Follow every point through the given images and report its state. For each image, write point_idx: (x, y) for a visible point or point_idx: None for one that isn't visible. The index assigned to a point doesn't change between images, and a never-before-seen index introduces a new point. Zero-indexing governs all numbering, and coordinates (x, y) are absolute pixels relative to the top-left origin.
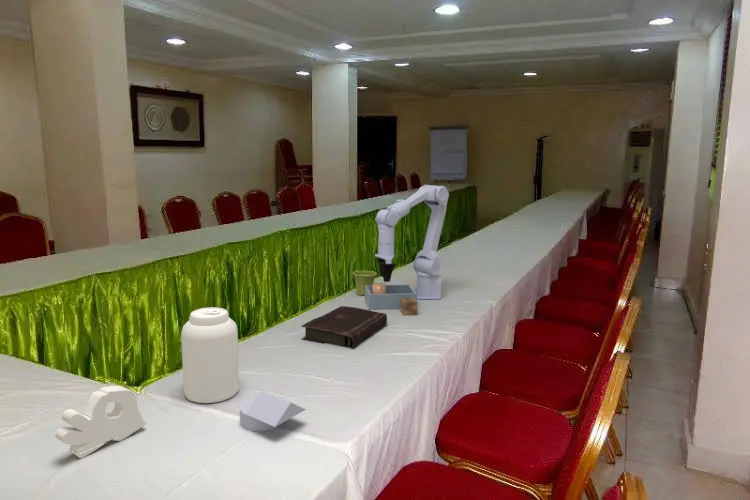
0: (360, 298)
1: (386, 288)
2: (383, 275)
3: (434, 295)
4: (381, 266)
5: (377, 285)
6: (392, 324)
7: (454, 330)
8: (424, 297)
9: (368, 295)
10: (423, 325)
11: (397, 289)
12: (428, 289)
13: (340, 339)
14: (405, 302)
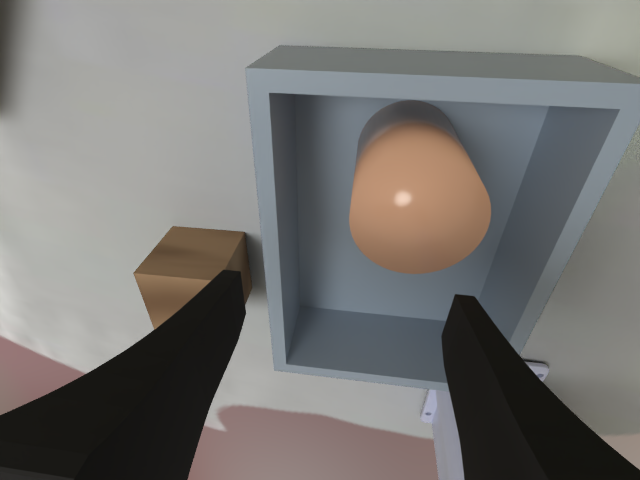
0: (633, 19)
1: (529, 263)
2: (175, 313)
3: (437, 415)
4: (13, 411)
5: (387, 198)
6: (10, 140)
7: (33, 334)
8: None
9: (307, 65)
10: (50, 265)
11: (500, 318)
12: (441, 429)
13: None
14: (138, 280)
